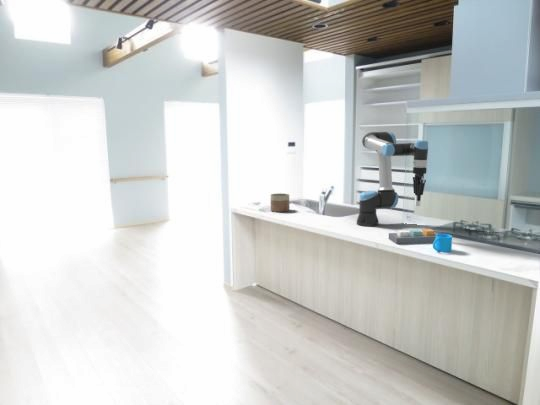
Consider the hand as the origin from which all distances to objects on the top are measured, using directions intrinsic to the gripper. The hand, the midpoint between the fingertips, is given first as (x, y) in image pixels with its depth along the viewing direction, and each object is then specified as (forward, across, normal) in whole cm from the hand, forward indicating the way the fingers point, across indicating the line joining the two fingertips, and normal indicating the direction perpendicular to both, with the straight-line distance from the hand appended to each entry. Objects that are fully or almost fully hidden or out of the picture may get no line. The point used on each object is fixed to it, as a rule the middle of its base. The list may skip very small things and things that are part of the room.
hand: (417, 205), depth 240 cm
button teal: (+18, +8, -4) cm, 19 cm away
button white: (+18, +8, -12) cm, 22 cm away
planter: (+24, -100, -74) cm, 126 cm away
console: (+20, +8, -4) cm, 21 cm away
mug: (+19, +30, +1) cm, 35 cm away
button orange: (+18, +7, +4) cm, 20 cm away
